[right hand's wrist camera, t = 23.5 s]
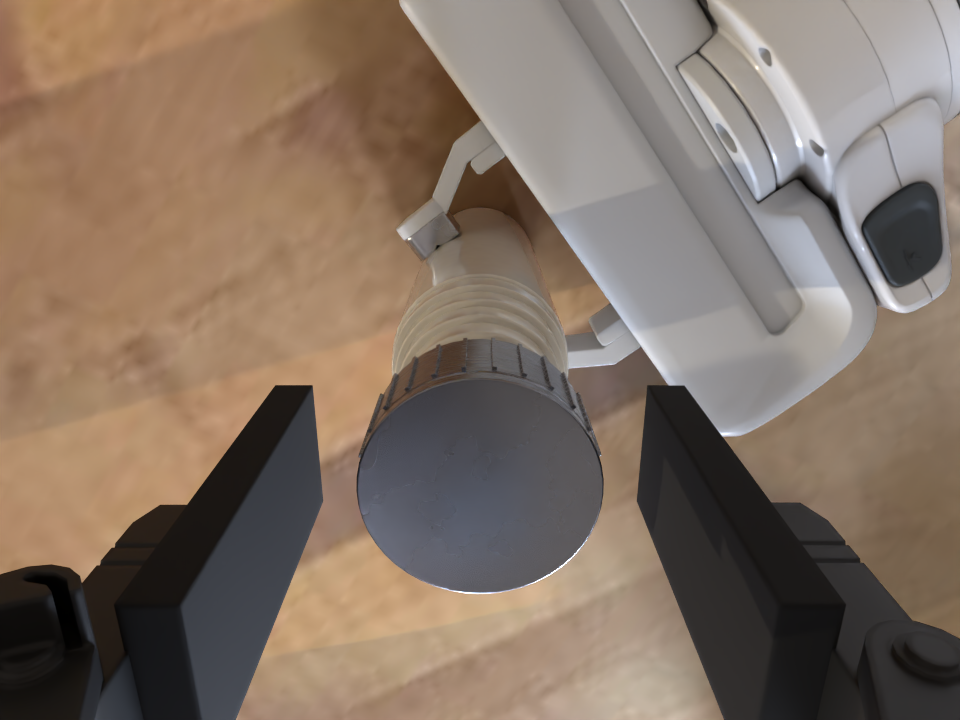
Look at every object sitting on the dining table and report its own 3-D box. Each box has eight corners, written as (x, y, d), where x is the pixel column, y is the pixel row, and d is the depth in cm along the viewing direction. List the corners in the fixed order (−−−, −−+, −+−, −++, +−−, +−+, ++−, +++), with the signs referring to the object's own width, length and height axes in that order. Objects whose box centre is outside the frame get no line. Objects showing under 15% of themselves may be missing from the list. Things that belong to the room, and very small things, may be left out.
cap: (607, 505, 15) (627, 569, 13) (406, 548, 16) (394, 617, 13) (564, 311, 14) (579, 348, 11) (342, 365, 14) (318, 409, 12)
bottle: (555, 252, 31) (659, 452, 13) (489, 332, 32) (500, 615, 14) (470, 184, 30) (456, 299, 12) (405, 270, 31) (304, 491, 13)
